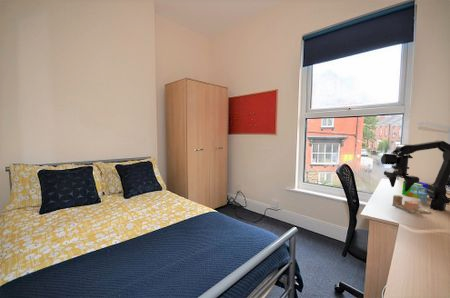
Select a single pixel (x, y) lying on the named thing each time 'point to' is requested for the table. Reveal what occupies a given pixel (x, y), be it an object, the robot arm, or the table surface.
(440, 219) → the table surface
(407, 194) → the puzzle toy
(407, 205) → the cube
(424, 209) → the pair of tan slabs
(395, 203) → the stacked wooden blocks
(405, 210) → the lane bed
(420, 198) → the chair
